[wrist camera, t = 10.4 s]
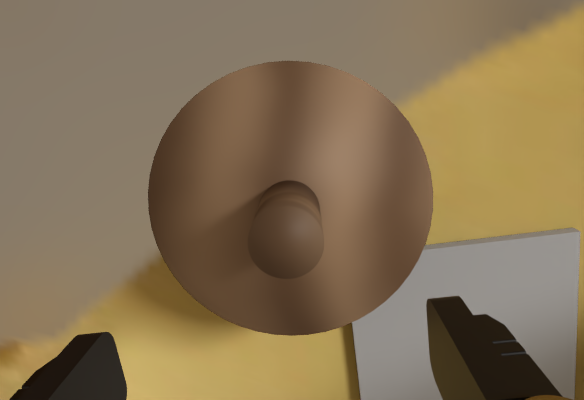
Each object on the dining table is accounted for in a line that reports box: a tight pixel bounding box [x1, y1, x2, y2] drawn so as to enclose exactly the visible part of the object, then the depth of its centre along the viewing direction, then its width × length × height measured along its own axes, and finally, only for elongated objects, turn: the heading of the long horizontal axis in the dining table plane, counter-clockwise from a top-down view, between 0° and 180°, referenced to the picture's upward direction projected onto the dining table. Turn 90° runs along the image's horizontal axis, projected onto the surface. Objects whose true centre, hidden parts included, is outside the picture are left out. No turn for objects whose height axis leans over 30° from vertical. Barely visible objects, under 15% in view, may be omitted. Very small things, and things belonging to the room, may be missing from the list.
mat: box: [352, 228, 580, 400], centre depth 32 cm, size 16×16×1 cm
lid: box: [148, 61, 433, 335], centre depth 21 cm, size 15×15×6 cm
